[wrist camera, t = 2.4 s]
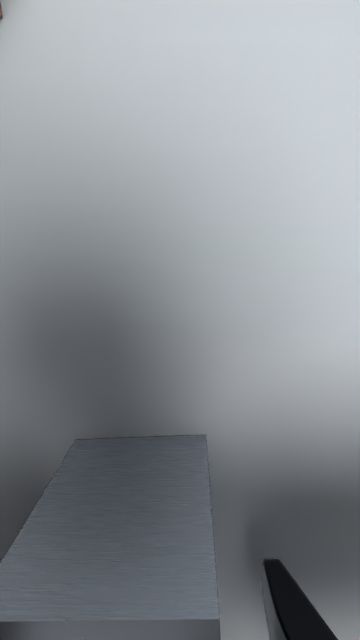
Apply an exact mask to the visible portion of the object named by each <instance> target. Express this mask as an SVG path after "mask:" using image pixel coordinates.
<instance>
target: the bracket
mask: <svg viewBox="0 0 360 640" xmlns="http://www.w3.org/2000/svg"><path fill="white" fill-rule="evenodd" d="M0 640H220V621H219V607H218V593H217V579H216V565H215V551H214V537H213V524H212V510H211V496H210V482H209V468H208V454H207V440H206V435H180V436H155V437H129V438H104V439H78V440H75V442H74V443H73V445H72V447H71V448H70V450H69V451H68V453H67V455H66V456H65V458H64V460H63V461H62V463H61V465H60V466H59V468H58V470H57V471H56V473H55V474H54V476H53V478H52V479H51V481H50V483H49V484H48V486H47V488H46V489H45V491H44V493H43V494H42V496H41V497H40V499H39V501H38V502H37V504H36V506H35V507H34V509H33V511H32V512H31V514H30V516H29V517H28V519H27V520H26V522H25V524H24V525H23V527H22V529H21V530H20V532H19V534H18V535H17V537H16V538H15V540H14V542H13V543H12V545H11V547H10V548H9V550H8V552H7V553H6V555H5V557H4V558H3V560H2V561H1V563H0Z"/></svg>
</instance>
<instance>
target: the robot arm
mask: <svg viewBox="0 0 360 640" xmlns="http://www.w3.org/2000/svg"><path fill="white" fill-rule="evenodd" d="M262 592H263V600H264V606H265V612H266V619H267V625H268V631H269V638H270V640H338V639H337V638H336V636H335V635H334V634H333V632H332V631H331V630H330V628H329V627H328V625H327V624H326V623H325V621H324V620H323V619H322V617H321V616H320V615H319V613H318V612H317V610H316V609H315V608H314V606H313V605H312V604H311V602H310V601H309V599H308V598H307V597H306V595H305V594H304V593H303V591H302V590H301V588H300V587H299V586H298V584H297V583H296V582H295V580H294V579H293V578H292V576H291V575H290V573H289V572H288V571H287V569H286V568H285V567H284V565H283V564H282V563H281V561H280V560H278V559H263V560H262Z"/></svg>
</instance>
